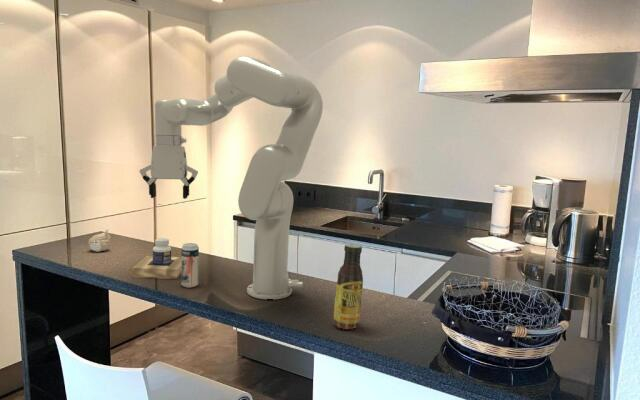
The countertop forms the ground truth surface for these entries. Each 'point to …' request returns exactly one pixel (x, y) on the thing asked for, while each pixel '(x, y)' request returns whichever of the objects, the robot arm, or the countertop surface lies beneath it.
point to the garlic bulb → (100, 242)
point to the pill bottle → (162, 252)
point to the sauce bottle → (349, 289)
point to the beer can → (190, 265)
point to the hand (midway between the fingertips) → (169, 197)
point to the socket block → (157, 269)
